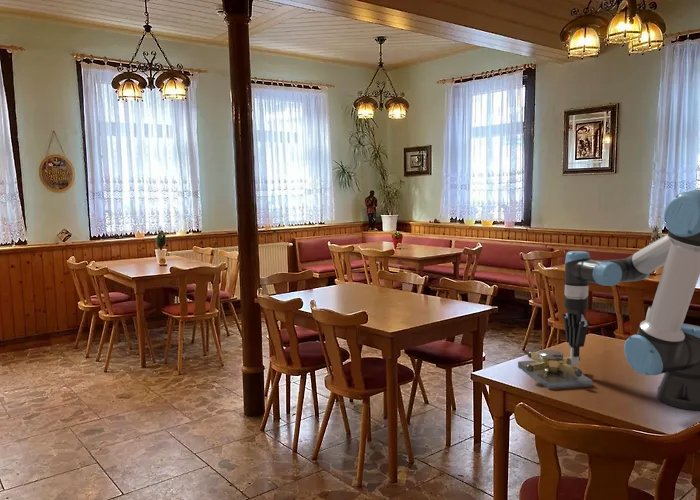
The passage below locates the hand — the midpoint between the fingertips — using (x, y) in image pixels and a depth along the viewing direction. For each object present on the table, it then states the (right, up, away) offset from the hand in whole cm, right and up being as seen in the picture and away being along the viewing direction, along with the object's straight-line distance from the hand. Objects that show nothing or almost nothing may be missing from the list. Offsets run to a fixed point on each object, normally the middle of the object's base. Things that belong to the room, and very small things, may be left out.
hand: (574, 365), depth 196 cm
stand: (-8, -3, -1) cm, 9 cm away
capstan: (-8, -1, -2) cm, 8 cm away
